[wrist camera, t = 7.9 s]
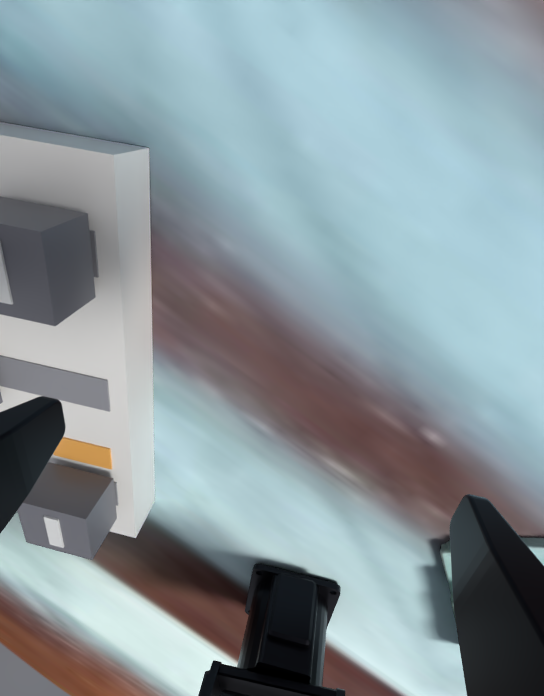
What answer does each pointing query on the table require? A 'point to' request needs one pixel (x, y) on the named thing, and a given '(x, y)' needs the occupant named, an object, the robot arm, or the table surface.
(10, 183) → the switch unit
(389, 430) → the table surface
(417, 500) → the table surface
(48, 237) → the switch
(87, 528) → the switch
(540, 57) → the table surface
